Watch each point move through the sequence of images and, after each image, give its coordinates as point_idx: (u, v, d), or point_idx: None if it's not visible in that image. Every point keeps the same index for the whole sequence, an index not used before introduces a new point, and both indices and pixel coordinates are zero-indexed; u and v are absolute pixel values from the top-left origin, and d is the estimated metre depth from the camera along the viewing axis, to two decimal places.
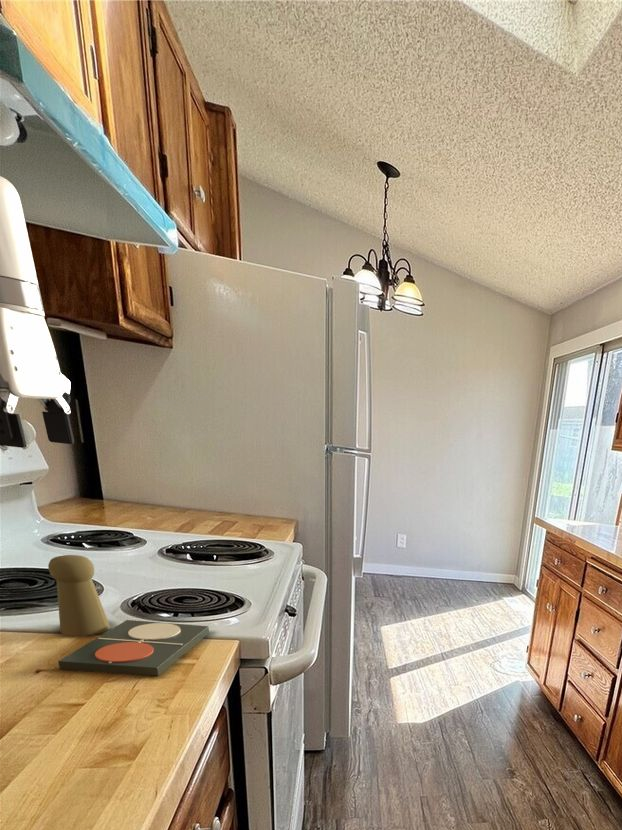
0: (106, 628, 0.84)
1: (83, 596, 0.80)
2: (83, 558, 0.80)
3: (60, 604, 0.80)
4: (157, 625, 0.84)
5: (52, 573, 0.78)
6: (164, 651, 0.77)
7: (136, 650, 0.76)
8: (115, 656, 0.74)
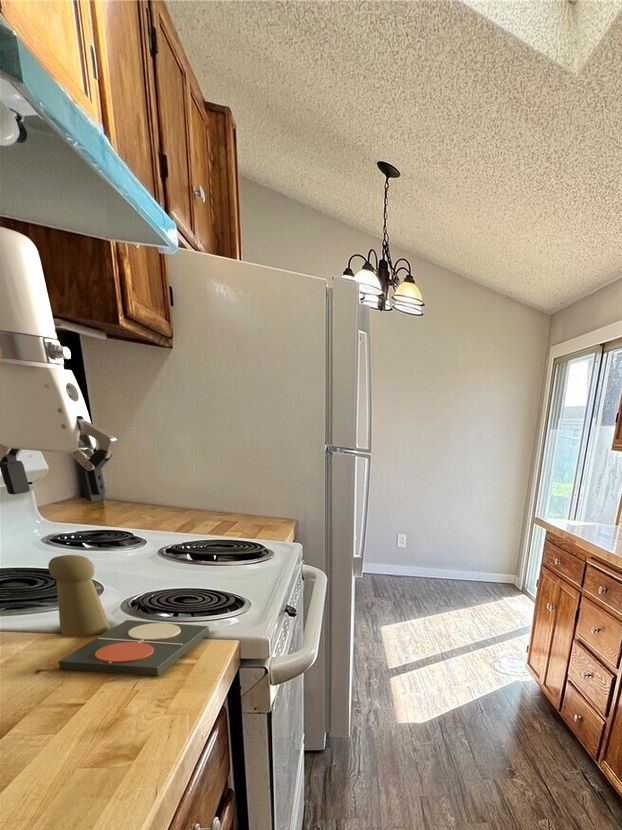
0: (106, 628, 0.84)
1: (83, 596, 0.80)
2: (83, 558, 0.80)
3: (60, 604, 0.80)
4: (157, 625, 0.84)
5: (52, 573, 0.78)
6: (164, 651, 0.77)
7: (136, 650, 0.76)
8: (115, 656, 0.74)
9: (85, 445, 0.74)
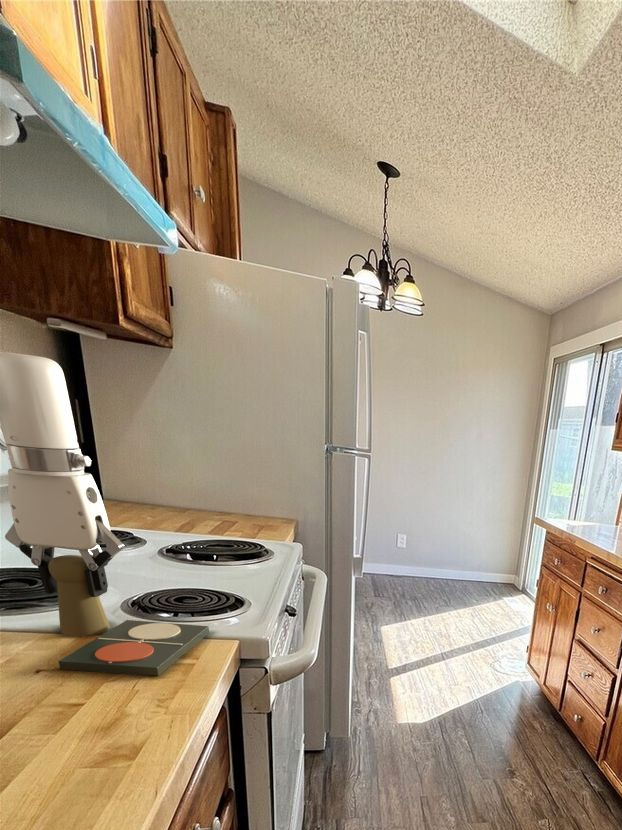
0: (106, 628, 0.84)
1: (83, 596, 0.80)
2: None
3: (60, 604, 0.80)
4: (157, 625, 0.84)
5: (52, 573, 0.78)
6: (164, 651, 0.77)
7: (136, 650, 0.76)
8: (115, 656, 0.74)
9: (96, 545, 0.79)
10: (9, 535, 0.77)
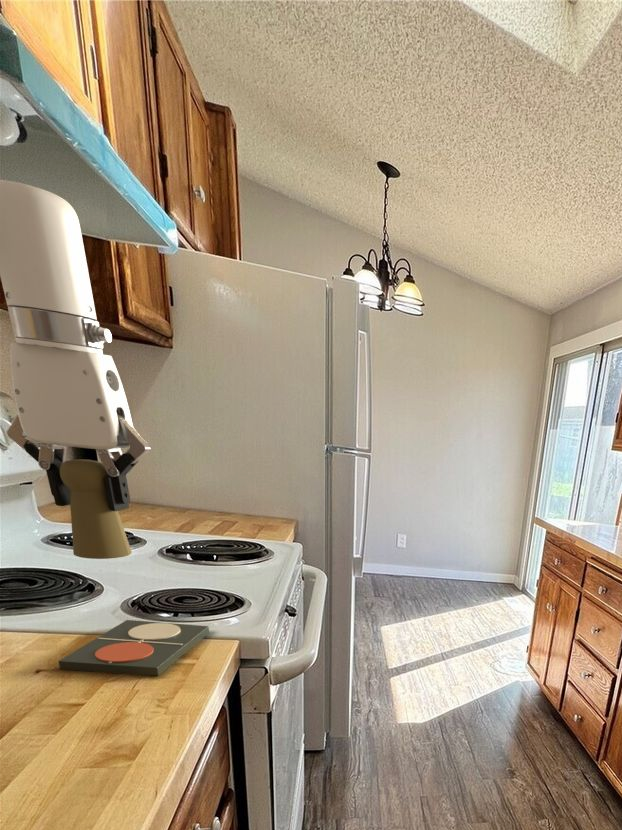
0: (128, 552, 0.70)
1: (101, 510, 0.67)
2: (101, 463, 0.66)
3: (73, 519, 0.66)
4: (157, 625, 0.84)
5: (64, 478, 0.64)
6: (164, 651, 0.77)
7: (136, 650, 0.76)
8: (115, 656, 0.74)
9: (117, 447, 0.66)
10: (12, 431, 0.63)
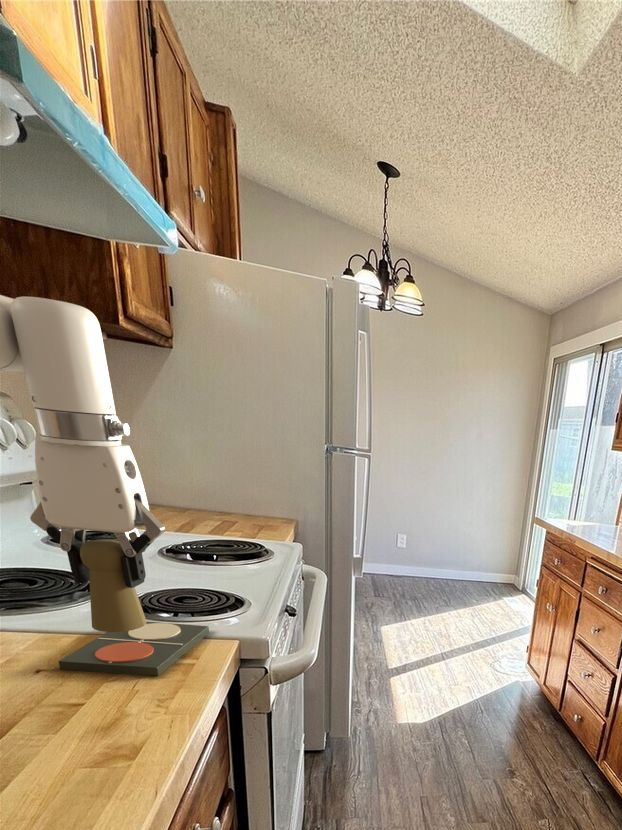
0: (143, 623, 0.74)
1: (119, 587, 0.70)
2: (119, 543, 0.70)
3: (92, 596, 0.70)
4: (157, 625, 0.84)
5: (84, 560, 0.68)
6: (164, 651, 0.77)
7: (136, 650, 0.76)
8: (115, 656, 0.74)
9: (133, 528, 0.69)
10: (35, 516, 0.67)
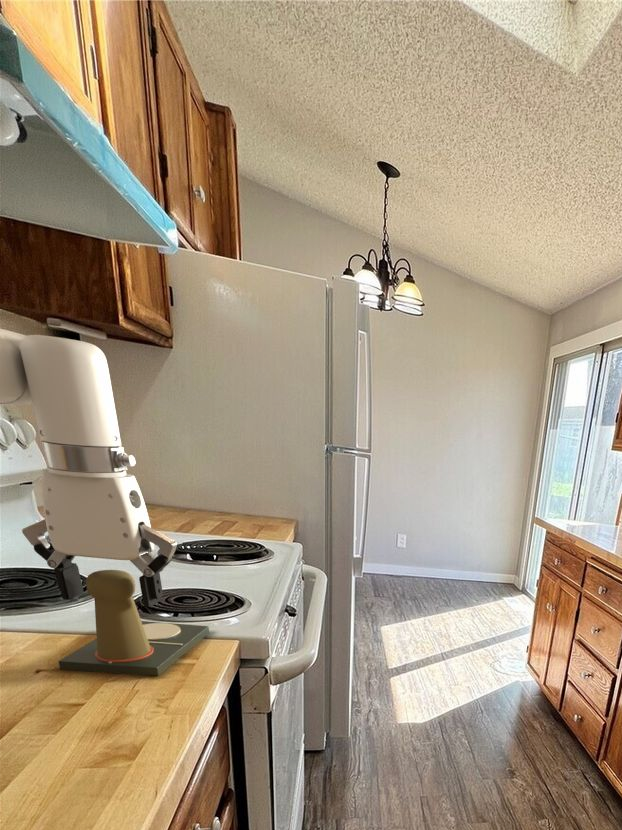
0: (147, 650, 0.75)
1: (124, 616, 0.72)
2: (124, 573, 0.71)
3: (98, 625, 0.71)
4: (157, 625, 0.84)
5: (90, 591, 0.69)
6: (164, 651, 0.77)
7: None
8: None
9: (144, 549, 0.71)
10: (28, 530, 0.67)
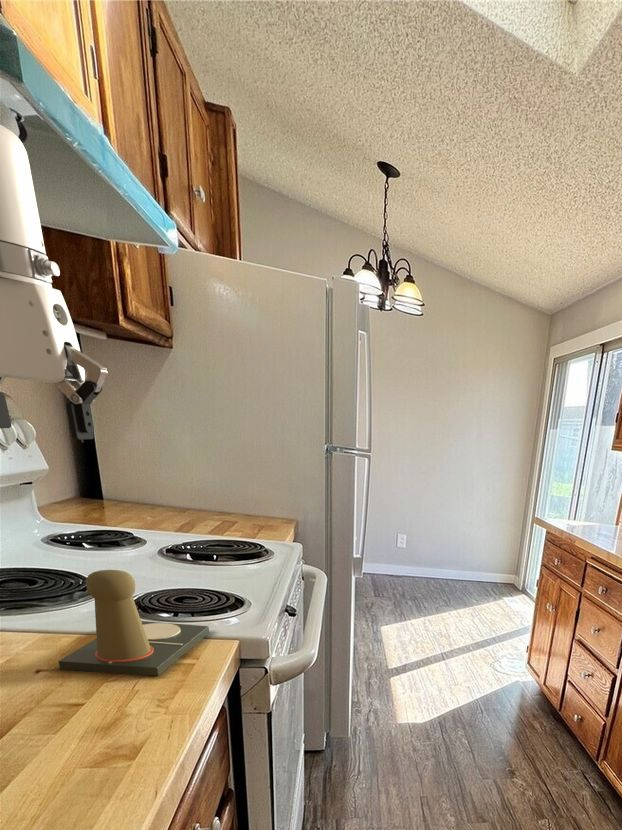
0: (147, 650, 0.75)
1: (124, 616, 0.72)
2: (124, 573, 0.71)
3: (98, 625, 0.71)
4: (157, 625, 0.84)
5: (90, 591, 0.69)
6: (164, 651, 0.77)
7: None
8: None
9: (73, 377, 0.67)
10: None
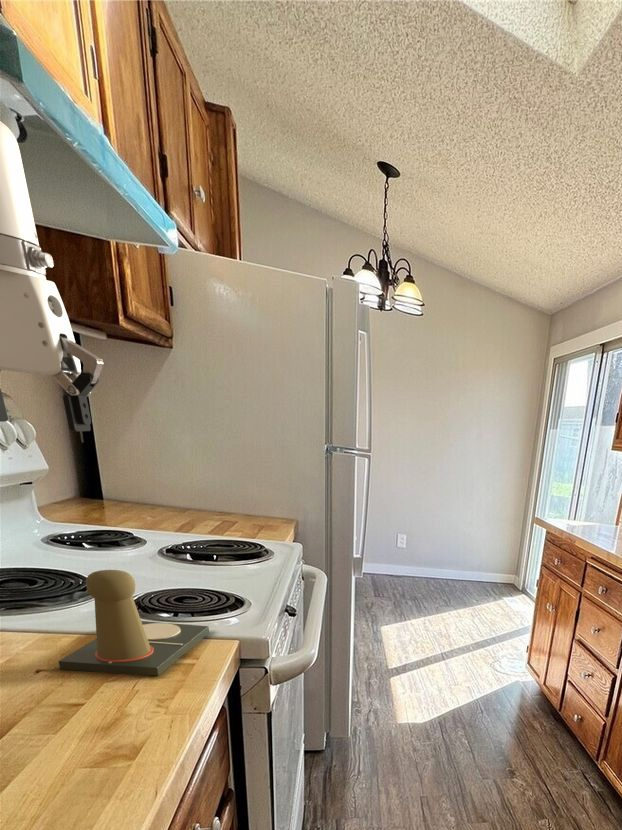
0: (147, 650, 0.75)
1: (124, 616, 0.72)
2: (124, 573, 0.71)
3: (98, 625, 0.71)
4: (157, 625, 0.84)
5: (90, 591, 0.69)
6: (164, 651, 0.77)
7: None
8: None
9: (69, 369, 0.67)
10: None
